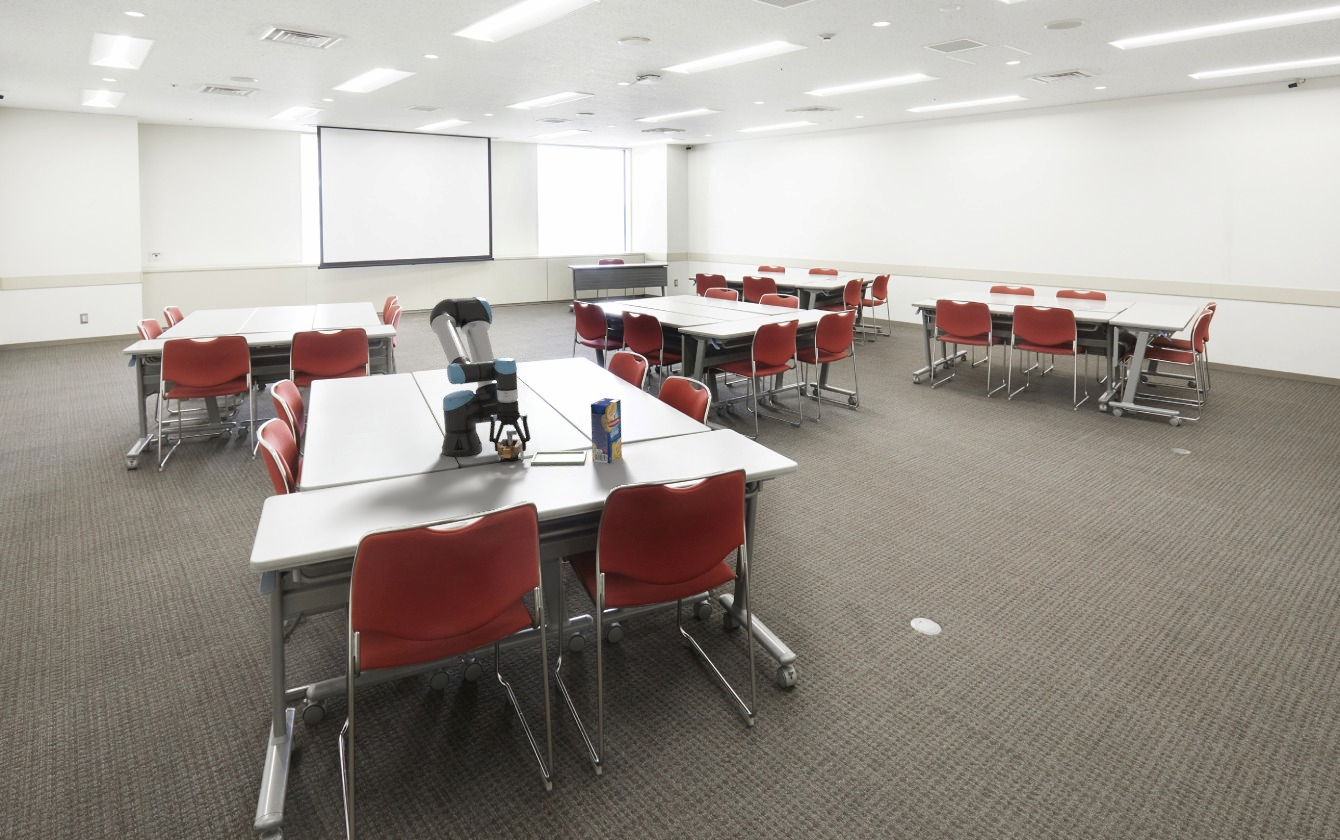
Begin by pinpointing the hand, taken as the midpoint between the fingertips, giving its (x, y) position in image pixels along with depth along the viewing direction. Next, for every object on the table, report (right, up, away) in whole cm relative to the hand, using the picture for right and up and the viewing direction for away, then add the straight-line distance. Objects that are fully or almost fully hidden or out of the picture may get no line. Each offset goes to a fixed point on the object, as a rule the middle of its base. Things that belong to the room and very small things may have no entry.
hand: (511, 459), depth 281 cm
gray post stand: (0, 0, 0) cm, 0 cm away
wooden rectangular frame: (0, +3, -2) cm, 4 cm away
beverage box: (+36, 0, +2) cm, 36 cm away
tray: (+18, 0, +1) cm, 18 cm away
